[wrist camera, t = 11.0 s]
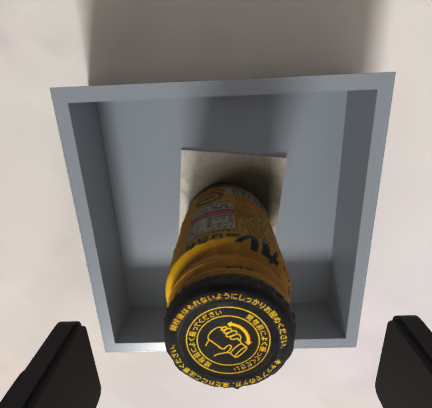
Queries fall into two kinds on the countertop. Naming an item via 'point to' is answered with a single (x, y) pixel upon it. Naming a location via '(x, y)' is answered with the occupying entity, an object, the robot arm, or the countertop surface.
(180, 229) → the condiment
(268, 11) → the countertop surface
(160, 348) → the open bin
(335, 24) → the countertop surface
